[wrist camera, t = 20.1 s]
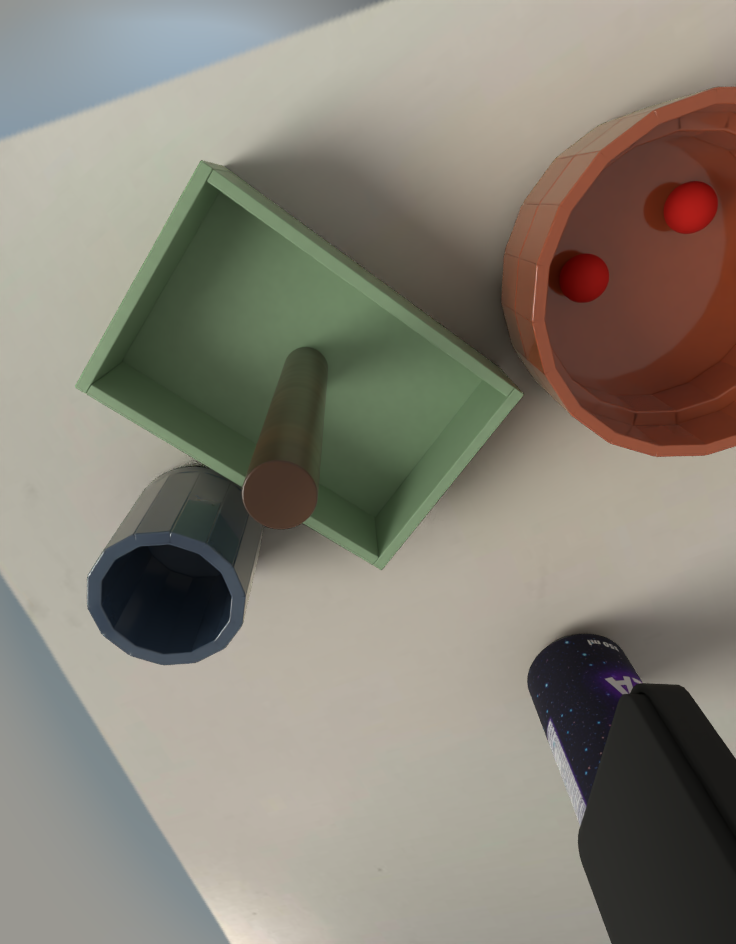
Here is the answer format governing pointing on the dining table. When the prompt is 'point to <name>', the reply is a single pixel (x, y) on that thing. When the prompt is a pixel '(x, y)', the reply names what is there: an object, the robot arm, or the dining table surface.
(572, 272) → the berry
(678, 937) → the robot arm
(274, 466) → the stick
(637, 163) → the bowl
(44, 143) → the dining table surface
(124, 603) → the holder
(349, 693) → the dining table surface
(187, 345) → the tray
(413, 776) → the dining table surface
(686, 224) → the berry
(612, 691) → the beverage can
